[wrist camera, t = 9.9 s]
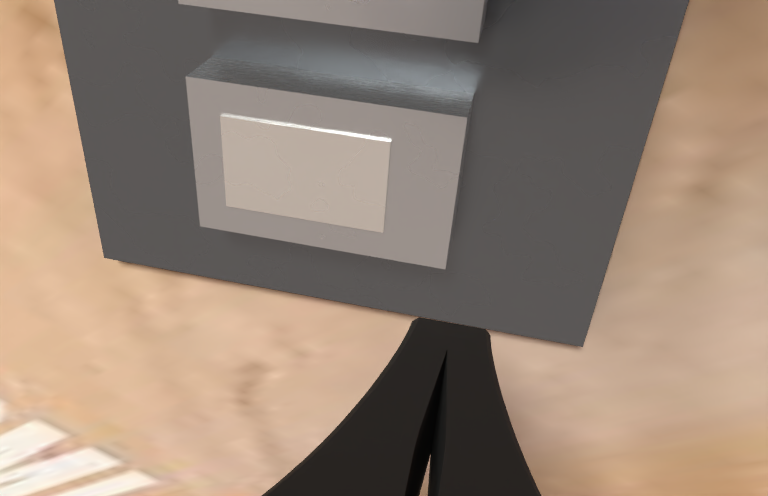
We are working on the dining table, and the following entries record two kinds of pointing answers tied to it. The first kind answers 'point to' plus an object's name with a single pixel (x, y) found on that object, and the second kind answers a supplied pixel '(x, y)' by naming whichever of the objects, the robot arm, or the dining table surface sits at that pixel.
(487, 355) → the robot arm
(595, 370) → the dining table surface
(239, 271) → the dark grey panel board
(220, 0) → the block
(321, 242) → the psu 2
